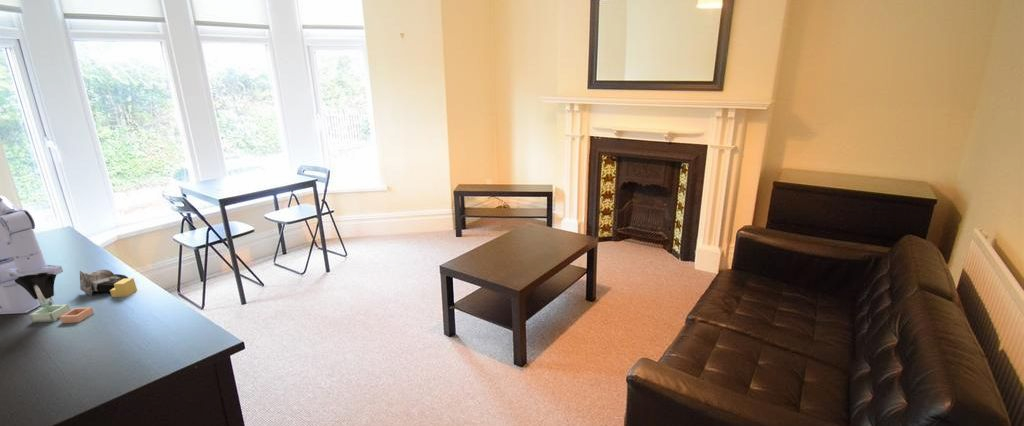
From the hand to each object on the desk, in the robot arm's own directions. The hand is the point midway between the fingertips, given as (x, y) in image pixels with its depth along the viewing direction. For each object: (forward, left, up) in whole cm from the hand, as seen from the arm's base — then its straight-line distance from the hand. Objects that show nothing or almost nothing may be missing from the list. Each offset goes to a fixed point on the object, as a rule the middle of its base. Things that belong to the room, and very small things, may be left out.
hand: (44, 297), depth 136 cm
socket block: (+9, -1, -6) cm, 11 cm away
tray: (0, 0, -6) cm, 6 cm away
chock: (+11, +13, -7) cm, 19 cm away
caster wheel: (+2, +18, -7) cm, 19 cm away
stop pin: (0, 0, -3) cm, 3 cm away
